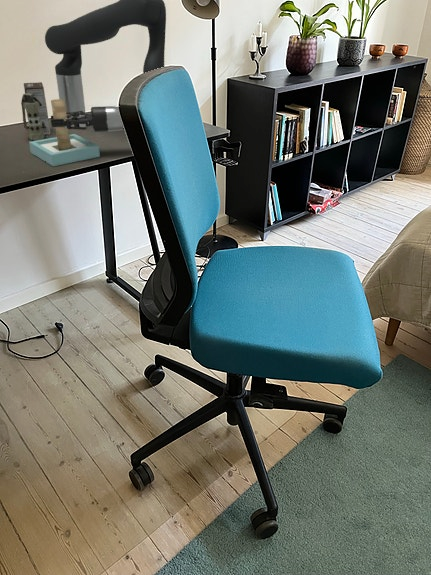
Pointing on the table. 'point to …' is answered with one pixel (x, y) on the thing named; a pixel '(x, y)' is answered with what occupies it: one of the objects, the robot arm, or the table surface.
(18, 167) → the table surface
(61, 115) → the peg
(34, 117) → the grenade model
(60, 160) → the socket box
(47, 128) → the coffee box
